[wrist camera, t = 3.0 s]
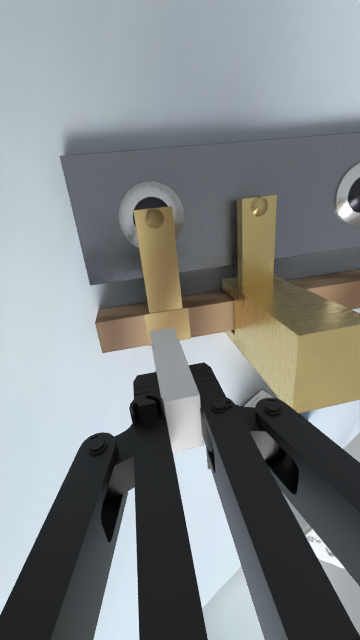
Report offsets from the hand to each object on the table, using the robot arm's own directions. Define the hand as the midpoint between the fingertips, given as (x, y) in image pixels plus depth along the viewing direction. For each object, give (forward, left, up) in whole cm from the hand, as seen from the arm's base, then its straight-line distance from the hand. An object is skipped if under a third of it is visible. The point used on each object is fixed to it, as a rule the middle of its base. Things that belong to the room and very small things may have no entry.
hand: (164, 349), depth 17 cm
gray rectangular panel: (+9, +7, -6) cm, 13 cm away
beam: (+9, +3, -6) cm, 11 cm away
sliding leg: (+8, +3, -6) cm, 10 cm away
